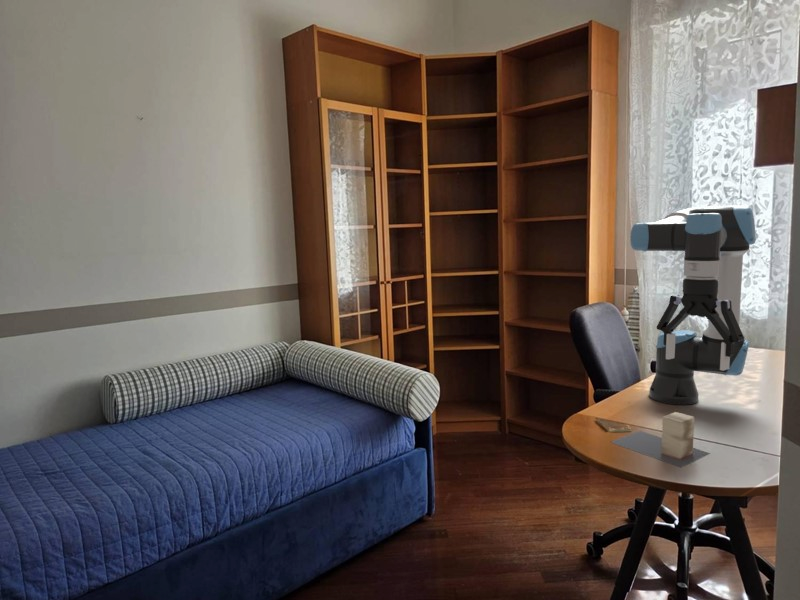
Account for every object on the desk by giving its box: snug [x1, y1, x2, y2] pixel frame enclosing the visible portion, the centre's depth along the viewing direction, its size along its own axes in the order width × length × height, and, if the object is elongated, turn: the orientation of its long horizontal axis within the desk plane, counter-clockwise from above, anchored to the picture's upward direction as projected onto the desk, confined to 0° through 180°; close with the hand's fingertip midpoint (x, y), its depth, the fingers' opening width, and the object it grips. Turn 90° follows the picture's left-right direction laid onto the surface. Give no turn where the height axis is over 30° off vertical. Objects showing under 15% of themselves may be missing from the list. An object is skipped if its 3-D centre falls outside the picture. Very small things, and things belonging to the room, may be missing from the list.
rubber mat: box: [610, 430, 711, 469], centre depth 148 cm, size 14×20×1 cm
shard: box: [594, 417, 633, 433], centre depth 165 cm, size 11×8×2 cm
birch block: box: [661, 411, 695, 460], centre depth 143 cm, size 6×5×10 cm
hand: (696, 363), depth 136 cm, fingers open, 13 cm apart
